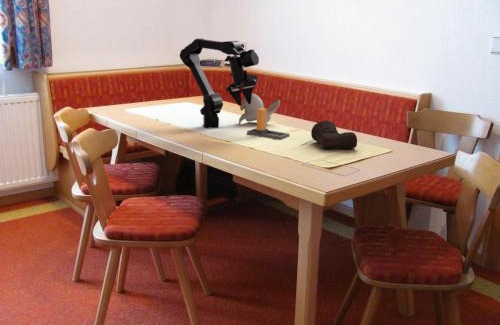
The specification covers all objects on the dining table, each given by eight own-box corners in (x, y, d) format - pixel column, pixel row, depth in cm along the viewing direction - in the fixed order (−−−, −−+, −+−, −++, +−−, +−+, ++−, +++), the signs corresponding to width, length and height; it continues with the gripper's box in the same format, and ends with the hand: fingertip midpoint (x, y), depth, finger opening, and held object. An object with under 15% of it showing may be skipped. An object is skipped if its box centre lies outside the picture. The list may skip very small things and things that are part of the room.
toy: (237, 126, 232) (278, 127, 228) (236, 94, 228) (278, 95, 224) (241, 122, 240) (281, 123, 236) (240, 91, 236) (281, 92, 232)
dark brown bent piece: (359, 132, 190) (345, 118, 203) (322, 135, 187) (311, 121, 200) (356, 155, 194) (343, 139, 207) (321, 158, 192) (310, 142, 205)
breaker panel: (243, 136, 211) (243, 131, 210) (257, 131, 220) (257, 127, 220) (279, 142, 201) (279, 138, 201) (292, 137, 211) (292, 132, 211)
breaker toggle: (254, 133, 212) (255, 109, 208) (260, 132, 215) (260, 107, 212) (262, 135, 210) (263, 110, 206) (267, 133, 213) (268, 108, 210)
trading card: (344, 175, 160) (301, 164, 172) (344, 177, 160) (301, 165, 172) (361, 169, 168) (318, 158, 179) (360, 170, 168) (318, 160, 180)
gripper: (263, 63, 207) (270, 99, 209) (243, 70, 223) (250, 103, 226) (240, 67, 202) (248, 104, 204) (222, 73, 218) (229, 107, 221)
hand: (244, 104), depth 214 cm, fingers open, 9 cm apart
